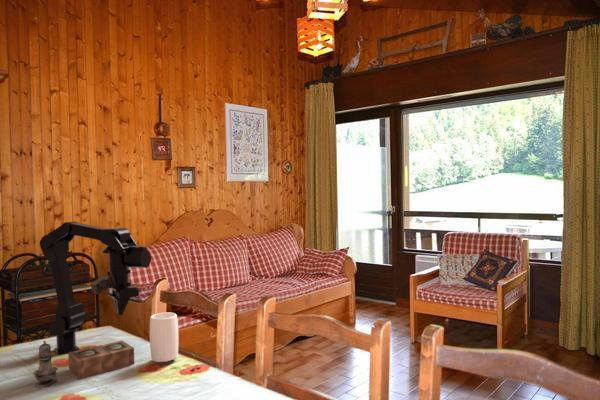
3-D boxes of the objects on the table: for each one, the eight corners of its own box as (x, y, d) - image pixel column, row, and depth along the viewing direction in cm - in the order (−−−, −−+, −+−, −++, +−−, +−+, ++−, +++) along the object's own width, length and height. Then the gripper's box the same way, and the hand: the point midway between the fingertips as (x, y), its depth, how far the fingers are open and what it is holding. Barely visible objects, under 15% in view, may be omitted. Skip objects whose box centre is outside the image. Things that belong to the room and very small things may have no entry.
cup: (150, 367, 137) (149, 320, 137) (150, 358, 145) (149, 313, 145) (179, 363, 140) (178, 317, 140) (178, 354, 148) (176, 310, 148)
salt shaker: (47, 388, 124) (45, 344, 124) (28, 387, 125) (27, 343, 125) (62, 379, 130) (61, 337, 129) (44, 378, 131) (43, 336, 130)
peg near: (78, 368, 136) (78, 353, 136) (92, 364, 139) (92, 349, 139) (82, 372, 133) (82, 356, 133) (97, 368, 136) (96, 353, 136)
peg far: (106, 361, 142) (106, 346, 142) (119, 358, 144) (119, 343, 144) (110, 364, 139) (110, 349, 139) (124, 361, 141) (123, 346, 141)
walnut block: (78, 379, 130) (77, 360, 130) (68, 369, 137) (68, 351, 137) (134, 364, 140) (133, 347, 140) (122, 355, 148) (122, 339, 148)
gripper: (83, 267, 150) (85, 314, 150) (102, 274, 136) (103, 326, 136) (118, 262, 157) (119, 308, 157) (139, 269, 143) (140, 318, 143)
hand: (120, 315), depth 148 cm, fingers closed
